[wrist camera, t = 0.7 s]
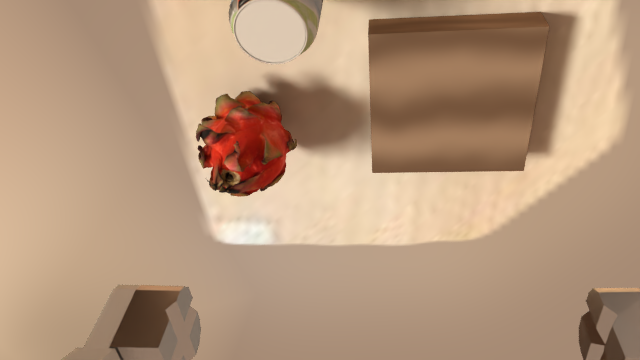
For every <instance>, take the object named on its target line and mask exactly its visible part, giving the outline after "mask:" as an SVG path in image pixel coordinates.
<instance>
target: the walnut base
mask: <svg viewBox="0 0 640 360" xmlns="http://www.w3.org/2000/svg"><path fill="white" fill-rule="evenodd" d="M548 32H549V25H548V23H547V22H546V20H545V18H544V17H543V15H542V13H541V12H529V13H506V14H484V15H462V16H440V17H417V18H395V19H373V20H369V31H368V38H369V72H370V106H371V140H372V173H396V172H472V171H524V166H525V161H526V155H527V150H528V144H529V139H530V133H531V127H532V122H533V116H534V111H535V105H536V99H537V94H538V88H539V83H540V77H541V71H542V66H543V60H544V55H545V49H546V43H547V38H548Z"/></svg>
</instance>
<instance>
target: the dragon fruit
mask: <svg viewBox="0 0 640 360" xmlns="http://www.w3.org/2000/svg"><path fill="white" fill-rule="evenodd" d="M281 120H282V116H281V113H280V108H279V106H278V105H277V104H276V103H275V102H274V101H273V100H272V101H270V102H269V104H266V103H264V102H262V103H261V101H260V100H259V99H258V98H257V97H256V96H255V95H254V94H252V93H251V92H250V91H245V92H241V94H240V95H239V96H237V97H236V98H235V99H232V98H230V97H229V95H228V94H225V95H222V96H220V97H218V98H217V99H216V107H215V116H208V117H206V118H203V119H202V125H201V124H199V125H198V129H197V131H196V139H197V141H198V142H199V140H200V137H201V138H202V139H203V141H204V143H205V144H206V145H205V146H204V147H203V148H202V147H201V146H200V145H199V146H198V150H199V151H200V153H199V161H200V163H201V165H202V167H203V168H206V167H208V168H210V167H213V169H212V171H211V178H210V181H209V185H210V187H211V188H212V189H213V190H215V191H216V190H219V192H227V193H231V195H232V196H248V195H250V194H252V193H253V192H257V191H258V190H259V189H260V191H264V190H266V189H267V188H268V187H270V186H273V185H274V184H275V183H277V182H278V181H279V180H280V179H281V178H282V176H283V175H284V173H285V168H286V162H285V160H286V154H287V153H288V152H289V151H291V150H294V149H295V148H296V146H297V141H296V139H295V143H294V141H293V139H292V137H291V134H290V132H289V131H287V130H285V129H284V127H283V126H282V125H281ZM205 179H206V178H205ZM207 181H208V180H207Z"/></svg>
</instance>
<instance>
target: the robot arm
mask: <svg viewBox="0 0 640 360" xmlns="http://www.w3.org/2000/svg"><path fill="white" fill-rule="evenodd" d="M192 298H193V297H192V295H191V292H190V290H189V287H185V286H158V285H118V286H117V287H116V288H114V289H113V291H112V292H111V294H110V296H109V298H108V300H107V302H106V304H105V306H104V308H103V310H102V312H101V314H100V316H99V318H98V320H97V322H96V324H95V326H94V328H93V330H92V332H91V333H90V335H89V337H88V339H87V341H86V344H85V345H84V347H83V348H76V349H74V350H73V351H72V352H71V353H69V354H68V355H67V356H65V357H64V358H63V359H61V360H191V359H192V358H193V357H194V356H195V355H196V353H197V350H198V346H199V342H200V332H201V327H200V319H199V315H198V313H197V311H196V310H195V309H193V308H192V307H191V306H190V304H191V301H192ZM586 302H587V305H588V308H589V311H588V312H587V313H585V314H584V315H583V316H582V317H581V320H580V325H579V345H580V350H581V354H582V357H583V360H640V288H593V289H592V290H591V291H590V292H589V293H588V297H587V300H586Z"/></svg>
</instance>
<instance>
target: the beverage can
mask: <svg viewBox="0 0 640 360" xmlns="http://www.w3.org/2000/svg"><path fill="white" fill-rule="evenodd" d="M322 3H323V0H232V1H231V4H230V9H229V21H230V26H231V29H232V31H233V34H234V36H235V39H236V41H237V43H238V45H239V46H240V48H241V49H242V50H243V51H244V52H245V53H246V54H247V55H249V56H250V57H252V58H253V59H255V60H257V61H260V62H263V63H266V64H283V63H287V62H289V61H292V60H293V59H295V58H296V57H298V56H299V55H300V54H302V53H303V52H304V51H306V50H307V49H308V48H309V47H310V45H311V44H312V43H313V41H314V39H315V37H316V34H317V31H318V26H319V20H320V14H321V9H322Z"/></svg>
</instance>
